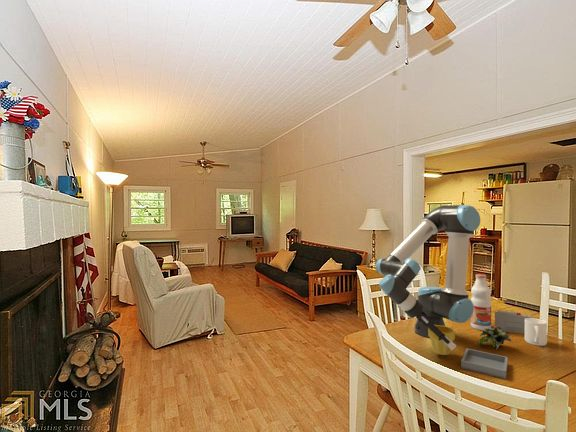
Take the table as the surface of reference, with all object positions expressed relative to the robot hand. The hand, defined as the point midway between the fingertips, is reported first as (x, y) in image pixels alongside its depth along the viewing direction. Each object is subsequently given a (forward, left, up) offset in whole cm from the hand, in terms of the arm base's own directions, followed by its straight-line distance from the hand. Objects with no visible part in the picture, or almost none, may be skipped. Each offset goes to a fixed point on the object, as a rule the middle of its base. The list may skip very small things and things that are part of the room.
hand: (448, 342), depth 139 cm
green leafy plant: (+15, +23, -6) cm, 28 cm away
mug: (+30, +38, -6) cm, 49 cm away
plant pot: (-3, -1, -4) cm, 5 cm away
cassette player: (+22, +51, -6) cm, 55 cm away
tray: (+13, -1, -6) cm, 15 cm away
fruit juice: (+8, +48, -6) cm, 49 cm away
